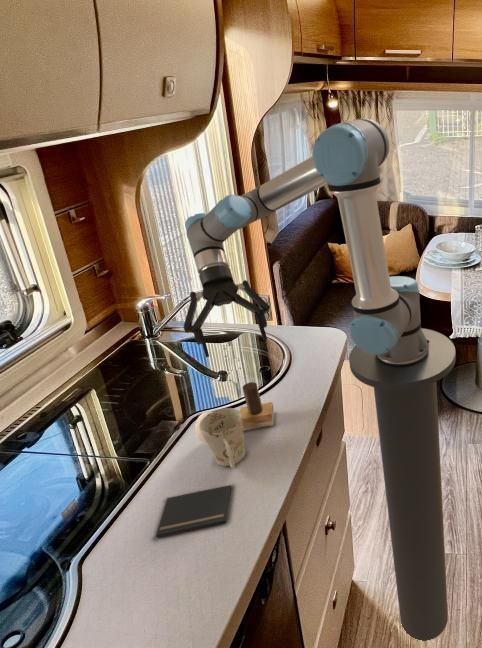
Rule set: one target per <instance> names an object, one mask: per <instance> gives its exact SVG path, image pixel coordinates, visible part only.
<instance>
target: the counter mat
mask: <svg viewBox="0 0 482 648" xmlns="http://www.w3.org/2000/svg"><path fill="white" fill-rule="evenodd" d="M231 492H232V485H231V484H229V485H225V486H220V487H215V488H211V489H206V490H201V491H196V492H190V493H186V494H181V495H177V496H171V497H167V498H166V501H165V505H164V508H163V511H162V515H161V517H160V518H161V519H160V522H159V525H158V528H157V531H156V534H155V536H156V538H161V537H166V536H170V535H174V534H180V533H183V532H188V531H193V530H197V529H202V528H207V527H210V526H211V527H212V526H216V525H220V524H225V523H227V518H228V512H229V505H230V499H231Z"/></svg>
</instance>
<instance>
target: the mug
mask: <svg viewBox="0 0 482 648" xmlns="http://www.w3.org/2000/svg"><path fill="white" fill-rule="evenodd" d="M199 427H200V431H201V433H202V435H203V437H204V439H205V441H206V442H207V444H206V445H207V446H208V448H209V450H210V452H211V455H212V456H213V458H214V460H215V462H216V464H217V465H219V466H221V467H230V468H231V469H235V468H236V464H238V463H239V462H241V460H243V459H244V458H245V455H246V445H245V437H244V436H245V435H244V431H243V424H242V416H241V413H240V410H238V409H237V408H232V407H225V408H219V409H216V410H214V411H213V412H212V413H210V414H208V415H207V416H205V417H204V418H203V419H202V421H201V422H200V426H199Z"/></svg>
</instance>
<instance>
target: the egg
mask: <svg viewBox="0 0 482 648" xmlns="http://www.w3.org/2000/svg"><path fill="white" fill-rule="evenodd" d="M212 412H214V411H212V410H207V411H204V412H202V413H201V414H200V415H199V416H198V417H197V419H196V421H195V424H194V433H195V436H196V438H197V439H198V440H199V441H200V442H201V443H203V444H206V445H208V444H207V442H206V441H205V439H204V437H203V435H202V433H201V431H200V427H199V426H200V422H201V421H202V419H203V418H204V417H205V416H207V415H208V414H210V413H212Z"/></svg>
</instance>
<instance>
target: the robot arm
mask: <svg viewBox="0 0 482 648" xmlns="http://www.w3.org/2000/svg"><path fill="white" fill-rule="evenodd" d="M389 153H390V139H389V135H388V133H387V132H386V130H385V129H384V127H383V126H382V125H381V124H380V123H378V122H377V121H375V120H373V119H370V118H364V117H362V118H356V119H353V120H349V121H344V122H340V123H337V124H336V123H335V124H333V125H331V126H330V127H328V128H325V129H324V130H323V131H321V132H320V134H319V135H318V136H317V138H316V140H315V141H314V144H313V148H312V156H310V157H308V158H307V159H305V160H303V161H301V162H300V163H297V164H296V165H294V166H293V167H291V168H289V169H288V170H286V171H284V172H282V173H280V174H278V175H277V176H275V177H273V178H271V179H269V180H268V181H266V182H265V183H263V184H261V185H259V186H257V187H255V188H253V189H251V190H250V191H248V192H245V193H244V194H243V193H242V194H241V195H235V194H227V195H225V196H224V197H223V198H222V199H220V200H219V201H218V202H217V203H216V204H215V206H214V207H213V208H211V209H210V211H209V212H208V213H205V212H199V213H195V214H193V215H191V216H189V217H187V218H186V220H185V223H184V225H185V226H184V227H185V230H186V238H187V240H188V243H189V246H190V249H191V253H192V256H193V260H194V264H195V267H196V270H197V273H198V277H199V281H200V284H201V288H202V291H201V292H195V291H191V292H190V293H189V296H190V302H189V305H188V308H187V309H188V310H187V313H186V316H185V320H184V322H183V331H184V332H185V333H186V334H187V333H193V335H194V339H195V343H196V344H197V345H198V346H199V345H202V348H203V351H204V356H205V358H209V357H210V354H209V351H208V346H207V342H206V340H205V336H204V331H203V329H202V326H203V325H204V324H205V321H206V319H207V318H208V316H209V314H210V313H211V311H213V308H214V307H222V306H223V305H231V304H232V303H235V304H236V305H239V306H241V307H243V308H244V309H246V310H247V311H249V312H251V313H253V314H254V315H255V316H256V317H255V319H256V322H257V325H258V328H259V332H260V335H261V338H262V341H263V342H267V341H268V337H267V334H266V330H265V328H267V327H268V322H267V319H266V314H269V313H270V310H271V307H270V305H269V304H268V303H267V302H266V301H265V300H264V299H263V298H262V297H261V296H260V295H259V294H258V293H257V292H256V291H255V290H254V289H253V288H252V287H251V286H250V284H249V281H248V280H246V279H245V280H243V281H242V282H241V283H238V284H236V282H235V280H234V278H233V277H234V276H233V274H232V271H231V268H230V264H229V261H228V258H227V254H226V251H225V249H224V245H223V244H224V242H225V241H227V240H228V239H229V238H230V237H231V236H232V235H233V234H235V233H236V232H237V231H239V230H241V229H242V228H245V227H246V226H249V225H251V224H253V223H254V222H257V221H259V220H261V219H263V218H266V217H268V216H270V215H272V214H273V213H275V212H276V211H278V210H280V209H282V208H283V207H286V206H288V205H290V204H291V203H293V202H296V201H297V200H299V199H301V198H303V197H305V196H307V195H309V194H311V193H313V192H315V191H317V190H319V189H320V188H322V187H324V186H326V185H327V188H328V192H329V193H331V194H332V195H334V196H335V197H336V198H337V202H338V209H339V212H340V218H341V223H342V229H343V233H344V237H345V244H346V248H347V253H348V258H349V263H350V269H351V274H352V280H353V283H354V290H355V295H354V296H353V298H352V299H351V307H352V312H353V316H354V318H353V319H352V320H351V322H350V325H349V330H348V331H349V336H350V339H351V340H352V342H353V343H354V346H357V347H359V348H361V349H362V350H363V351H365V352H367V353H371V354H376V357H377V359H378V360H379V361H380V362H381V363H383V364H385V365H388V366H392V367H406V366H411V365H415V364H417V363H419V362H421V361H423V360H424V359H425V358H426V357H427V356H428V354H429V346H428V343H429V342H430V341H429V340H427V339H426V338H425V336H424V333H423V331H422V329H421V328H422V322H421V304H420V303H421V302H420V291H421V290H420V288H419V282H418V281H417V280H416V279H415V278H412V277H409V276H402V275H401V276H400V275H396V276H395V275H393V276H390V273H389V272H390V271H389V267H388V260H387V253H386V248H385V242H384V236H383V231H382V230H383V229H382V224H381V218H380V217H381V216H380V211H379V205H378V200H377V190H378V189H379V187H380V186H381V184H382V183H381V176H380V175H381V174H380V169H379V167H381V166H382V165H383V163H385V161H386V160H387V158H388V156H389ZM239 290H241V292H245V294H246V295H247V296H248V297H249V298H250V299H251V300H252V301H253V302H254V303H256V304H257V305H256V304H254V303H253V302H251V301H249V300H247V299H246V298H244V297H242V296H241V295H240V294H239V293H238V291H239ZM202 298H203V299H204V300H205V301H206V302H205V304H204V306H203V308H202V309H201V311H200V313H199V315H198V316H197V318H196V319H195V322H194V323H193V321H194V318H195V315H196V312H197V307H198V303H199V302H200V301H201V299H202Z"/></svg>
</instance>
